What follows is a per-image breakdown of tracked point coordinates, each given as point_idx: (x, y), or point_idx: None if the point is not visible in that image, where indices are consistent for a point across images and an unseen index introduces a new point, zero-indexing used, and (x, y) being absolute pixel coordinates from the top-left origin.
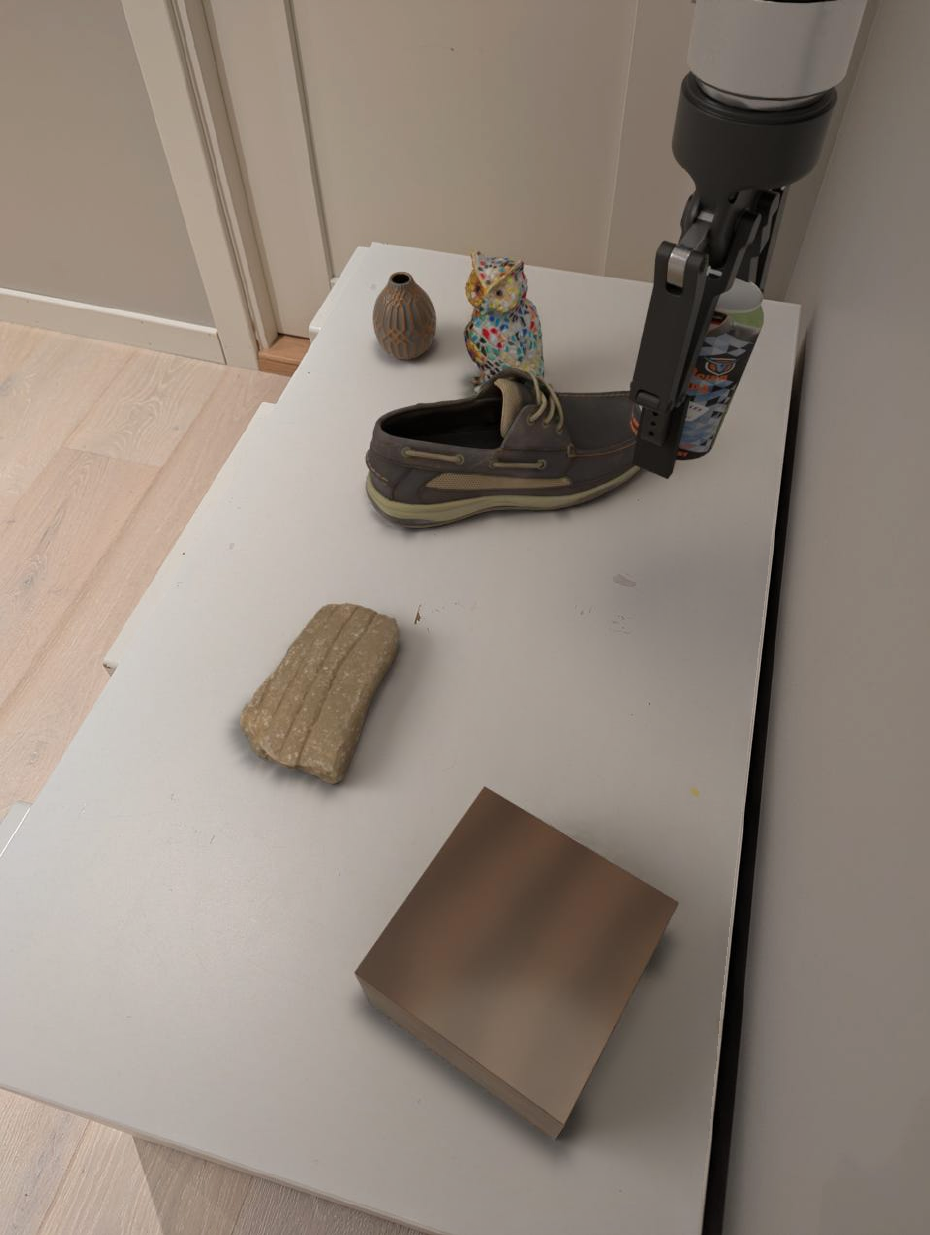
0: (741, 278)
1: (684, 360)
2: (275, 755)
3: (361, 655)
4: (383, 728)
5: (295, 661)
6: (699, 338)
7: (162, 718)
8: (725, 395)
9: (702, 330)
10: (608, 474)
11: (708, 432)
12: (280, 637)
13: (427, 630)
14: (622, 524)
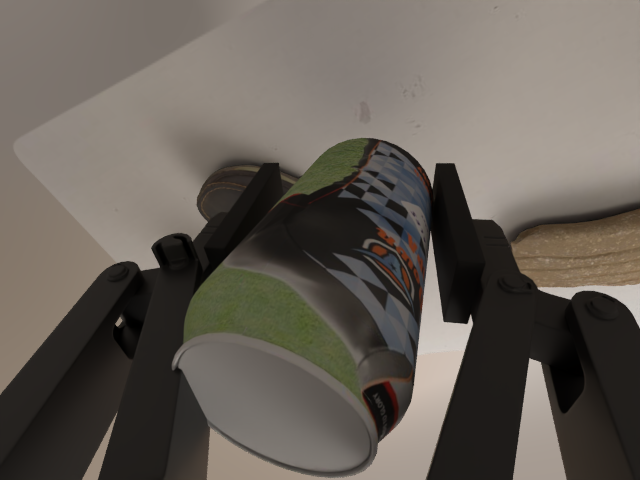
0: (187, 387)
1: (618, 418)
2: None
3: (570, 249)
4: (605, 197)
5: (589, 280)
6: (514, 423)
7: (636, 310)
8: (372, 197)
9: (512, 448)
10: (284, 186)
11: (391, 165)
12: (540, 287)
13: (493, 217)
14: (308, 146)
